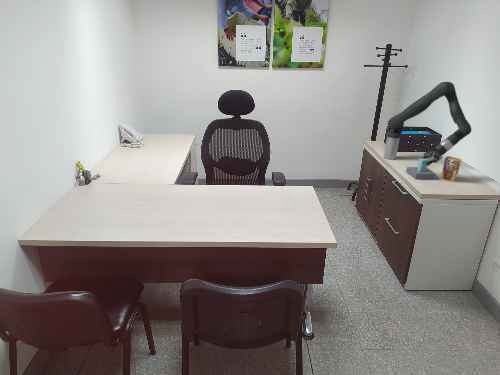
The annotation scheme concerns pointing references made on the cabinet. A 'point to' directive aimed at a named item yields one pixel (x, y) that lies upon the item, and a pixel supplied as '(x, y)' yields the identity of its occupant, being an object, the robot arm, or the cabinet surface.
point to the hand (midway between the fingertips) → (423, 162)
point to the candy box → (451, 168)
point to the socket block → (420, 173)
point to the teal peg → (422, 165)
